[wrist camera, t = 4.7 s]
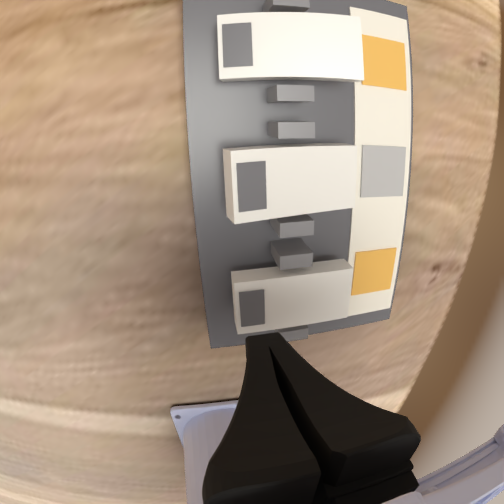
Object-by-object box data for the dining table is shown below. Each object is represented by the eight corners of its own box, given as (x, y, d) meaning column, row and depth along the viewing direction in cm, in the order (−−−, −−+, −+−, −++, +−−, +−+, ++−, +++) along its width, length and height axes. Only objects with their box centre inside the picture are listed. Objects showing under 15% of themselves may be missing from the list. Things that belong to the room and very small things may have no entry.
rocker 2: (340, 201, 16) (355, 208, 15) (226, 216, 14) (234, 225, 13) (342, 143, 15) (358, 145, 14) (222, 148, 13) (230, 151, 12)
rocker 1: (356, 82, 13) (364, 80, 11) (223, 81, 13) (218, 78, 12) (353, 23, 11) (360, 16, 10) (220, 22, 12) (216, 14, 11)
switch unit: (377, 305, 22) (403, 335, 19) (208, 330, 21) (213, 371, 17) (390, 12, 14) (427, -2, 11) (183, -5, 12) (181, -35, 9)
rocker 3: (339, 305, 18) (348, 318, 17) (234, 321, 17) (237, 335, 16) (344, 258, 17) (354, 269, 16) (230, 271, 16) (234, 284, 15)
